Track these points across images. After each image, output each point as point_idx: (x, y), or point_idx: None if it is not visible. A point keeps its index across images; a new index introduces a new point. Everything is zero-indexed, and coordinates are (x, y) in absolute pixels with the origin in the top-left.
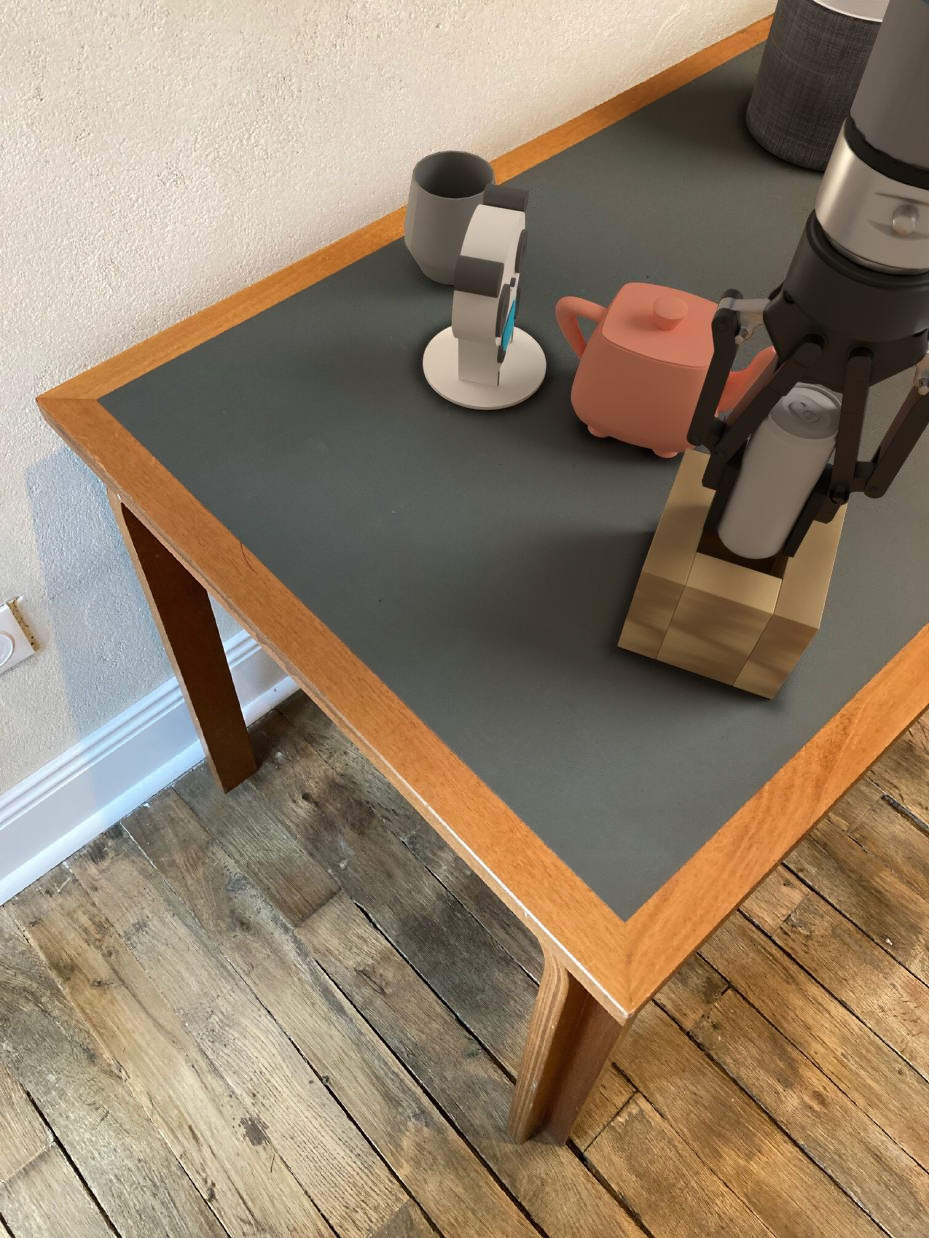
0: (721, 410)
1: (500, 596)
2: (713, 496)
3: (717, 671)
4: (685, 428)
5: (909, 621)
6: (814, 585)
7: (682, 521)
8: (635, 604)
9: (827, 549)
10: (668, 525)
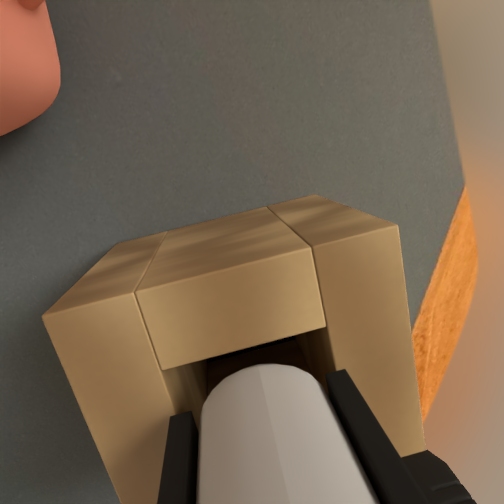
0: (38, 5)
1: (22, 441)
2: (168, 428)
3: None
4: (11, 112)
5: (452, 175)
6: (402, 440)
7: (150, 470)
8: None
9: (399, 366)
10: (134, 490)
